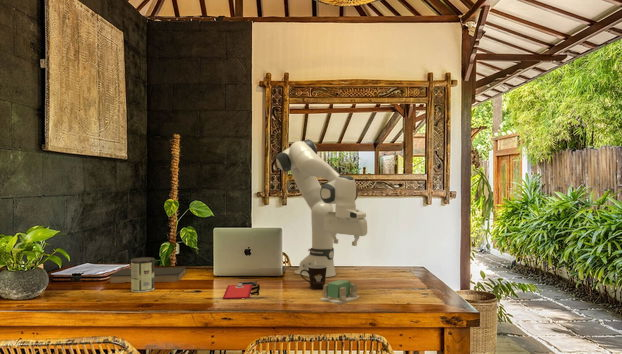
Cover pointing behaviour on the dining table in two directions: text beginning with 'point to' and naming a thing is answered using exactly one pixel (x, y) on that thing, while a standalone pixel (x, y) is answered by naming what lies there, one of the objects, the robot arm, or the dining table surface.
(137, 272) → the coffee can
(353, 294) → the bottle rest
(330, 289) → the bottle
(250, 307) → the dining table surface
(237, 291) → the red board with handle
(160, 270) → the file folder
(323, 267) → the coffee mug
